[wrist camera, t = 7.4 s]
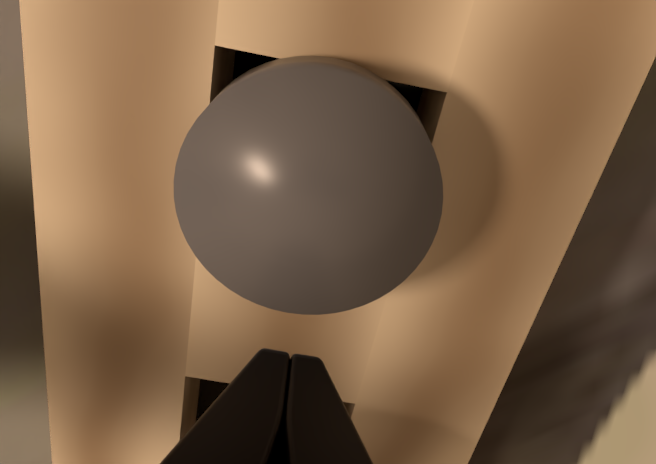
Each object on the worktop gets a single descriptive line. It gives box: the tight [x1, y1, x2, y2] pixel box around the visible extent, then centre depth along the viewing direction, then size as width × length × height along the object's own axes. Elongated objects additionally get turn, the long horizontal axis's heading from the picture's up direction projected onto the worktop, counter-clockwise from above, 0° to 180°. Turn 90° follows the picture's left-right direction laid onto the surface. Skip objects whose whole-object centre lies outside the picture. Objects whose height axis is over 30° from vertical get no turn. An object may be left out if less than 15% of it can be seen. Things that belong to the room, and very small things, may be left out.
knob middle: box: [174, 56, 443, 315], centre depth 14 cm, size 6×6×4 cm
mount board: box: [19, 0, 656, 464], centre depth 15 cm, size 14×32×3 cm, turn 169°
